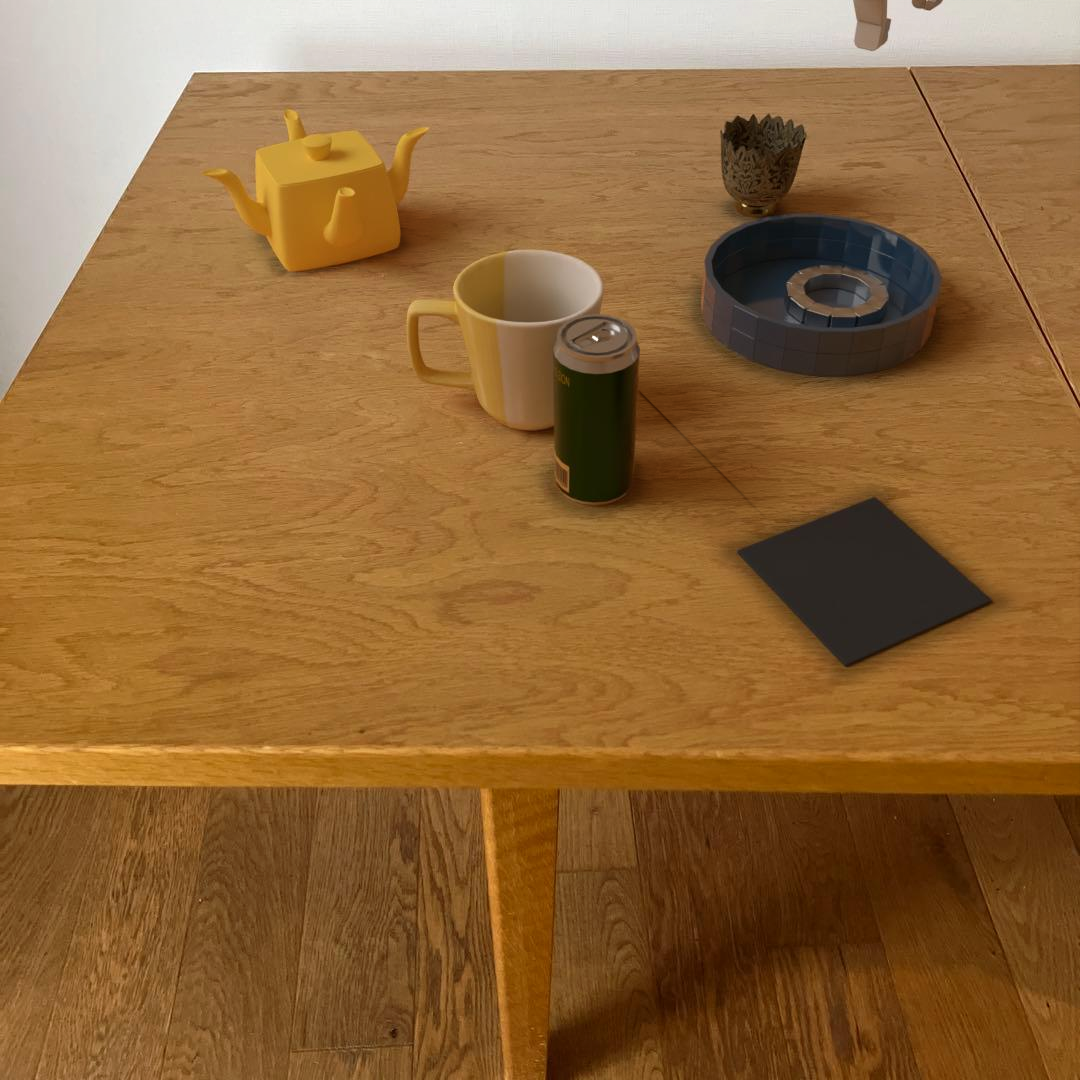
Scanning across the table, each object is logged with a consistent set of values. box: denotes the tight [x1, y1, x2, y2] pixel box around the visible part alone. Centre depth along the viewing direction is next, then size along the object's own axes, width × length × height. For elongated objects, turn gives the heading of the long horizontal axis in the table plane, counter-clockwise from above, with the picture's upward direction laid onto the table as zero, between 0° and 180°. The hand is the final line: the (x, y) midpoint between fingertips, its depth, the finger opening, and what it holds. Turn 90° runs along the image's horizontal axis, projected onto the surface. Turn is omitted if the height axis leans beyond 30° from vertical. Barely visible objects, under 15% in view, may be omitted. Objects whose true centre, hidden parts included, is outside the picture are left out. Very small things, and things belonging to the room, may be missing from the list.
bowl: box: [700, 213, 943, 378], centre depth 95 cm, size 18×18×4 cm
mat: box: [736, 496, 993, 668], centre depth 74 cm, size 11×11×1 cm
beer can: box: [553, 313, 641, 507], centre depth 78 cm, size 5×5×12 cm
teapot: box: [200, 108, 430, 272], centre depth 104 cm, size 15×14×10 cm
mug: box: [405, 248, 605, 432], centre depth 85 cm, size 14×10×10 cm
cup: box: [719, 113, 807, 219], centre depth 107 cm, size 8×7×8 cm
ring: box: [784, 265, 889, 328], centre depth 97 cm, size 8×8×1 cm
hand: (898, 26), depth 83 cm, fingers open, 8 cm apart
